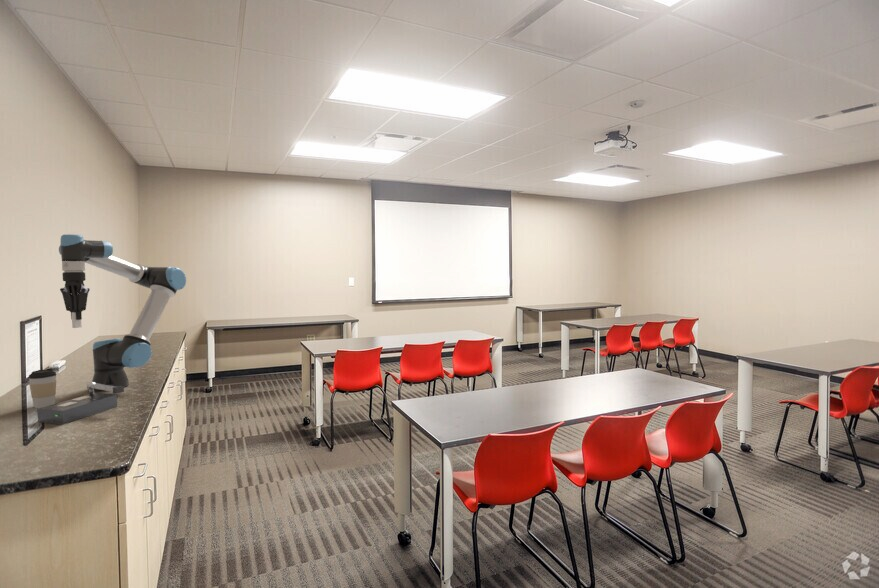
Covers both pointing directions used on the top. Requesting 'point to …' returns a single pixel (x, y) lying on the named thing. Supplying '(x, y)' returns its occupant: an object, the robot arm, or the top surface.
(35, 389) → the coffee cup
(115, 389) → the grey long bar
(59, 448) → the top surface
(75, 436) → the top surface
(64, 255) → the robot arm
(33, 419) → the top surface
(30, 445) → the top surface
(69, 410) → the lever switch
